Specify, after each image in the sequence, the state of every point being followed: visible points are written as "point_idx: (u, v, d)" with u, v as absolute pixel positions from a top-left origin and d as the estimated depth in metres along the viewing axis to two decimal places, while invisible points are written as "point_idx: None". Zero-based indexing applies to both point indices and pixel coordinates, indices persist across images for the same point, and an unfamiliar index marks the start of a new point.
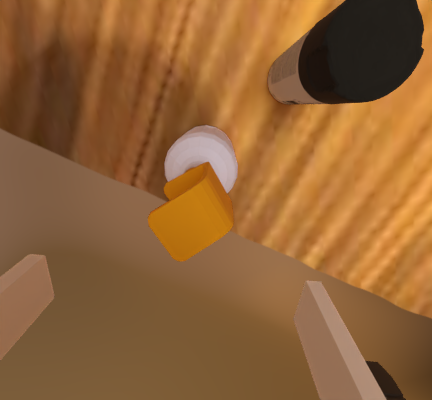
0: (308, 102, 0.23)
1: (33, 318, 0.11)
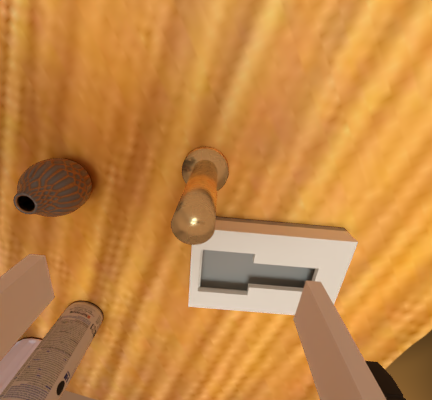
0: None
1: (33, 318, 0.11)
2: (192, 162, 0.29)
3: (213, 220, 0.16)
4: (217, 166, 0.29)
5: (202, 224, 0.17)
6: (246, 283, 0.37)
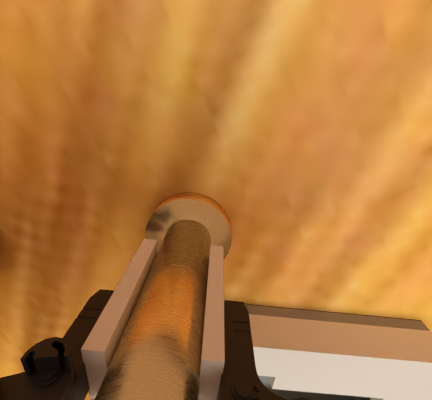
0: None
1: None
2: (164, 223, 0.16)
3: None
4: (210, 230, 0.16)
5: None
6: None
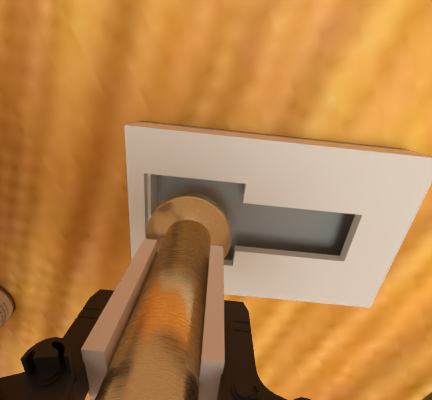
0: None
1: None
2: (164, 223, 0.16)
3: None
4: (210, 231, 0.16)
5: None
6: (233, 249, 0.22)
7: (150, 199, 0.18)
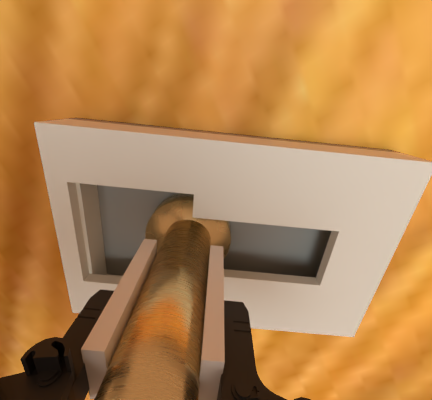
0: None
1: None
2: (164, 223, 0.16)
3: None
4: (210, 231, 0.16)
5: None
6: None
7: (83, 212, 0.15)
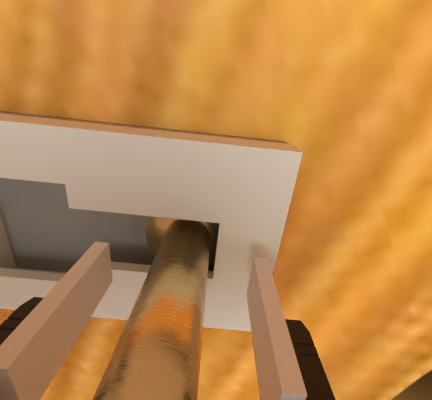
0: None
1: (100, 298, 0.12)
2: (164, 222, 0.16)
3: None
4: (210, 229, 0.16)
5: None
6: None
7: None
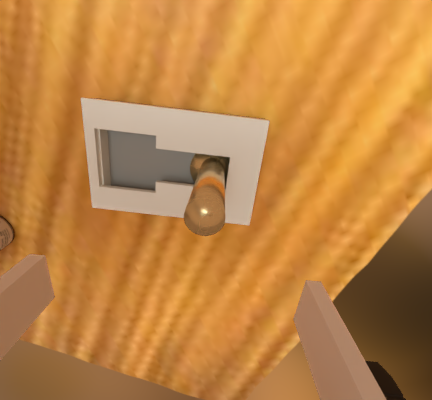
0: None
1: (33, 318, 0.11)
2: (200, 159, 0.30)
3: (223, 213, 0.17)
4: (224, 164, 0.30)
5: (213, 217, 0.18)
6: None
7: (100, 147, 0.29)
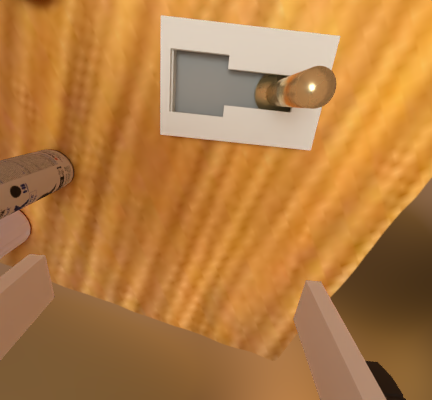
0: None
1: (33, 318, 0.11)
2: (266, 83, 0.31)
3: (335, 81, 0.19)
4: None
5: (324, 86, 0.19)
6: None
7: (172, 70, 0.31)
